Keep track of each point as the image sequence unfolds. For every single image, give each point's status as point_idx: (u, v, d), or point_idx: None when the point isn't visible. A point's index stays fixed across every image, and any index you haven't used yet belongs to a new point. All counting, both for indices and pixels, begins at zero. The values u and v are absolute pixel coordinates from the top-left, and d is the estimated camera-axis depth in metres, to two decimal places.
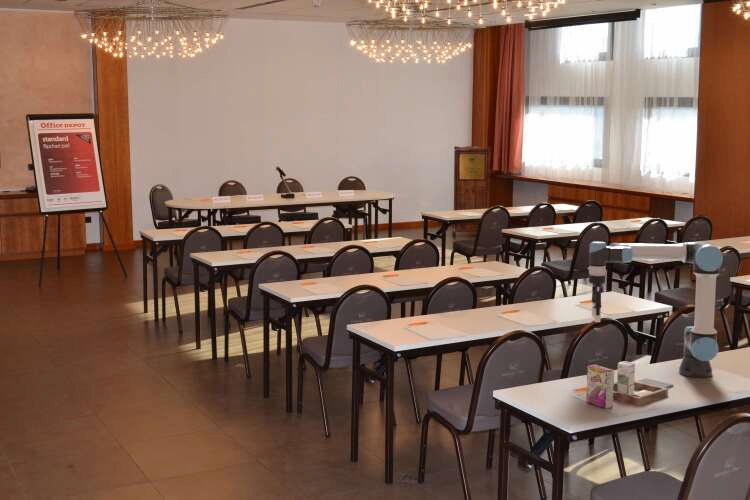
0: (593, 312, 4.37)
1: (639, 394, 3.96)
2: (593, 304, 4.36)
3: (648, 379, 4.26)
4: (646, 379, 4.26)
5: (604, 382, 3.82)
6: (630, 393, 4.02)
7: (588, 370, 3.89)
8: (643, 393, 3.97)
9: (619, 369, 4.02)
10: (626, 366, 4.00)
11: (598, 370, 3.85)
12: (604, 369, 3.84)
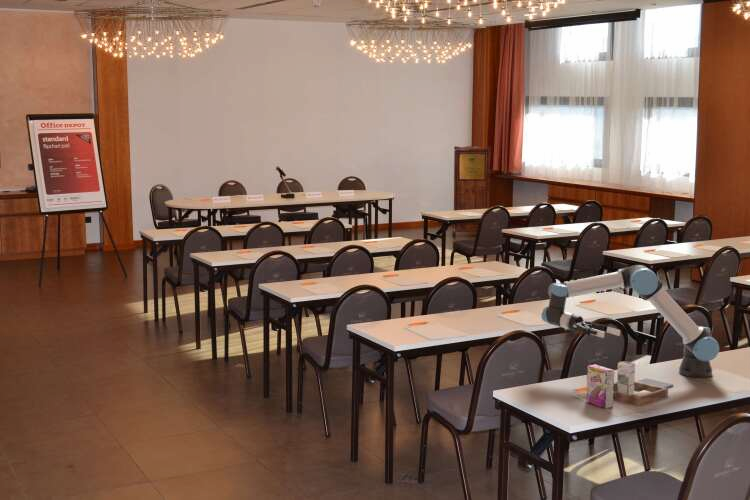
0: (615, 333, 4.16)
1: (639, 394, 3.97)
2: (607, 331, 4.18)
3: (648, 379, 4.26)
4: (646, 379, 4.26)
5: (604, 382, 3.82)
6: (630, 393, 4.02)
7: (588, 370, 3.89)
8: (643, 393, 3.97)
9: (619, 369, 4.02)
10: (626, 366, 4.00)
11: (598, 370, 3.85)
12: (604, 369, 3.84)
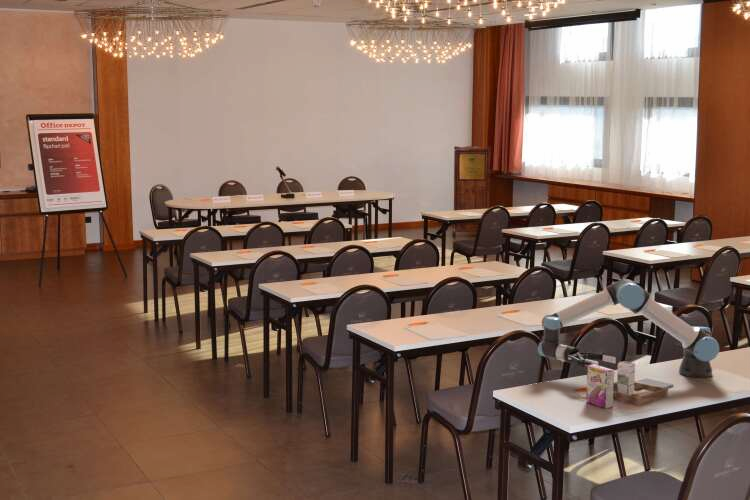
0: (611, 361, 4.16)
1: (639, 393, 3.97)
2: (603, 359, 4.19)
3: (648, 379, 4.26)
4: (646, 379, 4.26)
5: (604, 382, 3.82)
6: (630, 393, 4.02)
7: (588, 370, 3.89)
8: (643, 393, 3.97)
9: (619, 369, 4.02)
10: (626, 366, 4.00)
11: (598, 370, 3.85)
12: (604, 369, 3.84)
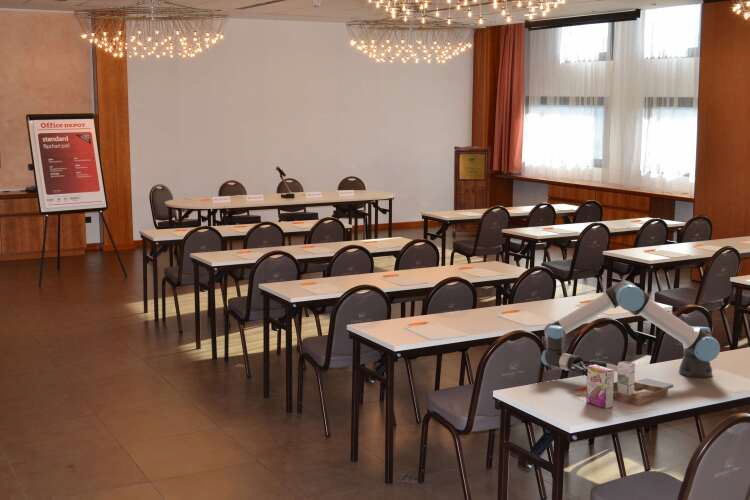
0: (614, 369, 4.15)
1: (638, 393, 3.97)
2: None
3: (648, 379, 4.26)
4: (646, 379, 4.26)
5: (604, 382, 3.82)
6: (630, 393, 4.02)
7: (588, 370, 3.89)
8: (643, 392, 3.97)
9: (619, 369, 4.02)
10: (626, 366, 4.00)
11: (598, 370, 3.85)
12: (604, 369, 3.84)
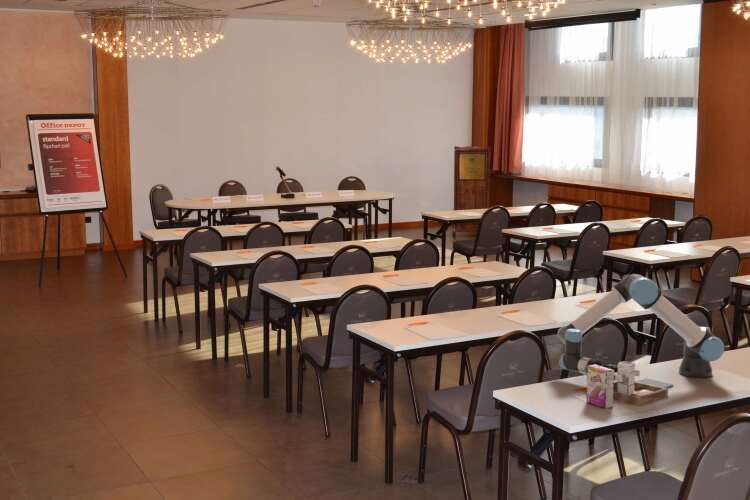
0: None
1: (638, 393, 3.97)
2: None
3: (648, 379, 4.26)
4: (646, 379, 4.26)
5: (605, 382, 3.82)
6: (630, 393, 4.02)
7: (588, 370, 3.89)
8: (643, 392, 3.97)
9: (619, 369, 4.02)
10: (626, 366, 4.00)
11: (598, 370, 3.85)
12: (604, 369, 3.84)
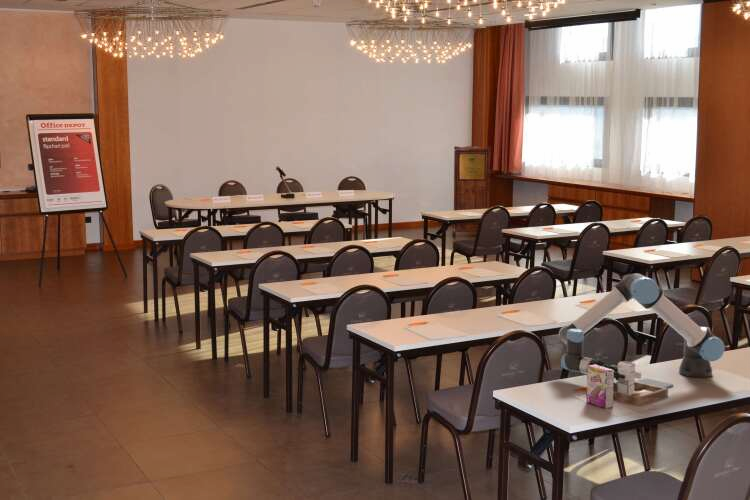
0: (636, 376, 4.03)
1: (638, 393, 3.97)
2: None
3: (648, 379, 4.26)
4: (646, 379, 4.26)
5: (604, 382, 3.82)
6: (630, 393, 4.02)
7: (588, 370, 3.89)
8: (643, 393, 3.98)
9: (619, 369, 4.02)
10: (626, 366, 4.00)
11: (598, 370, 3.85)
12: (604, 369, 3.84)
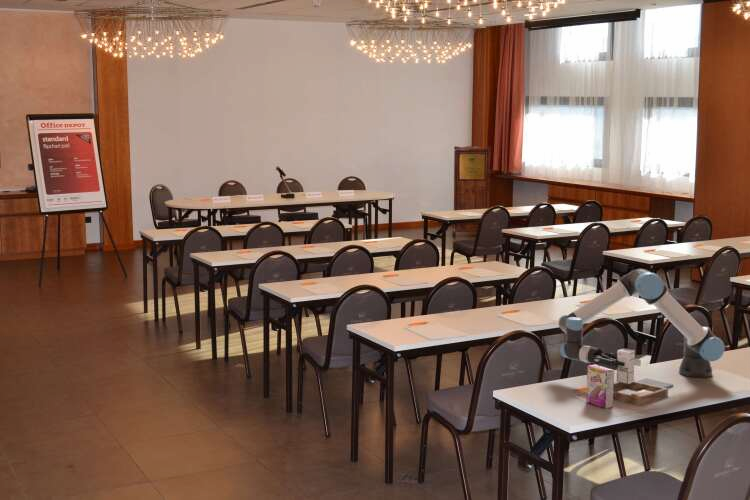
0: (635, 363, 4.02)
1: (638, 393, 3.97)
2: None
3: (648, 379, 4.26)
4: (646, 379, 4.26)
5: (605, 382, 3.82)
6: (630, 380, 4.01)
7: (588, 370, 3.89)
8: (643, 393, 3.98)
9: (619, 356, 4.01)
10: (626, 353, 3.99)
11: (598, 370, 3.85)
12: (604, 369, 3.84)
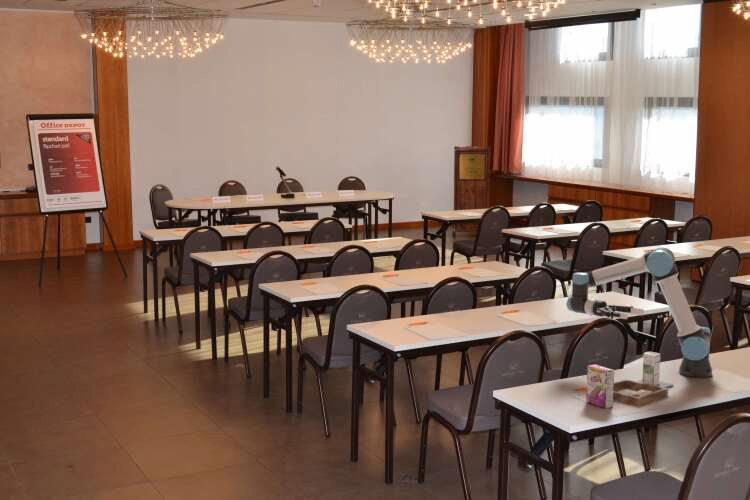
0: (639, 313, 4.27)
1: (639, 393, 3.96)
2: (631, 312, 4.30)
3: None
4: None
5: (604, 382, 3.82)
6: (655, 382, 4.16)
7: (588, 370, 3.89)
8: (643, 393, 3.97)
9: (645, 359, 4.16)
10: (651, 356, 4.13)
11: (598, 370, 3.85)
12: (604, 369, 3.84)
